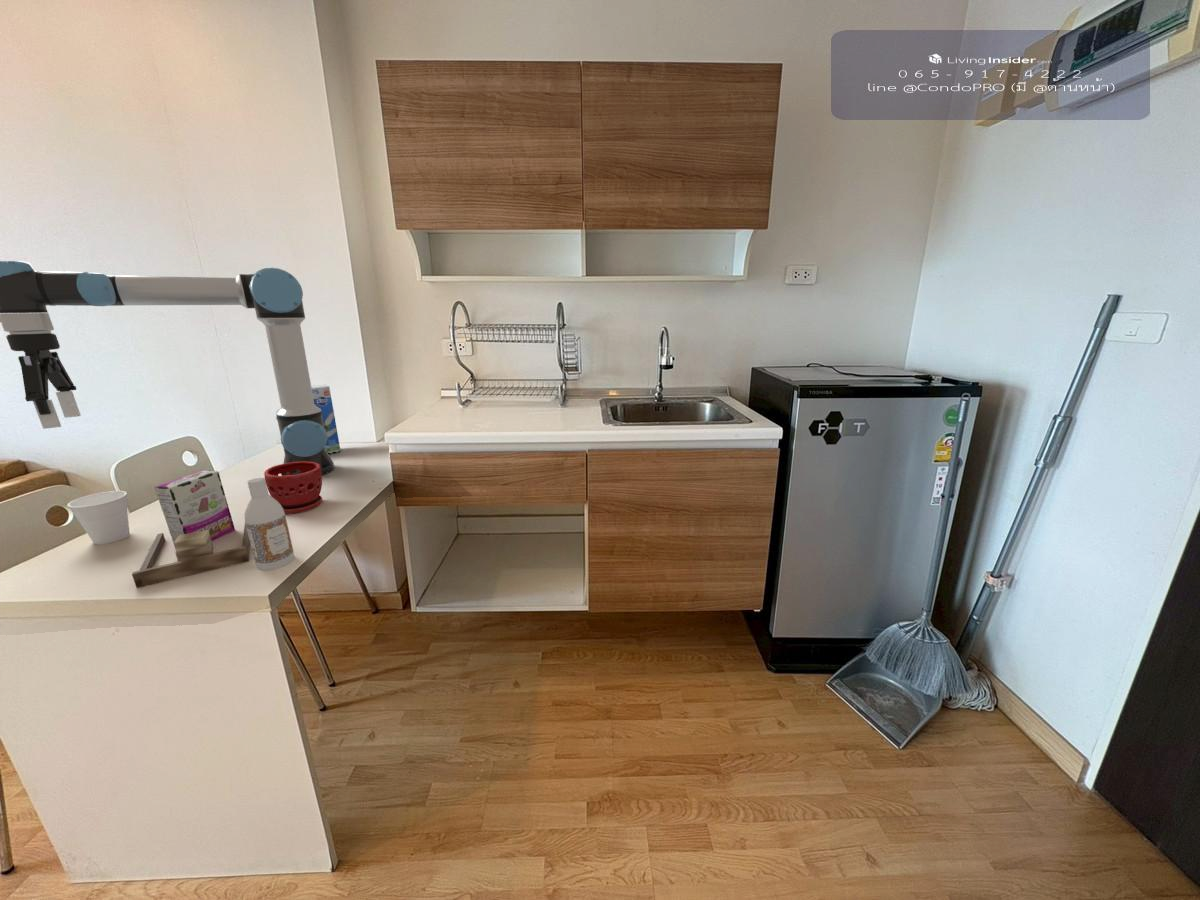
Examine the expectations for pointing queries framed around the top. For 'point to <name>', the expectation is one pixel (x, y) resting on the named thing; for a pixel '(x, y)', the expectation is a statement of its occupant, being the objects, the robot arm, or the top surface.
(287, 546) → the bath foam
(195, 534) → the offcut top
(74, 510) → the cup
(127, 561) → the top surface
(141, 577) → the wooden frame
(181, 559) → the offcut mid
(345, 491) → the top surface
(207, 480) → the candy bar box
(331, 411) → the string lights box
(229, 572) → the top surface
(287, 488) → the plant pot
